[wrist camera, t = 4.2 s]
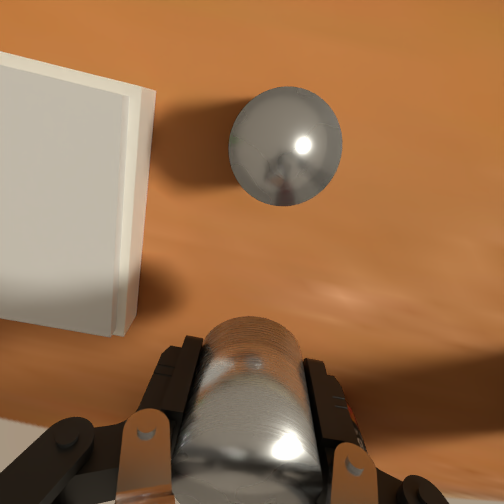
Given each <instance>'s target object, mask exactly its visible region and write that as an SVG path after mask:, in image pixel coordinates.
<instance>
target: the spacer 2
mask: <svg viewBox="0 0 504 504" xmlns="http://www.w3.org/2000/svg"><path fill="white" fill-rule="evenodd" d="M171 485H172V492H173V493H174V497H175V498H176V499H177V501H178V502H179V503H180V504H315V503H316V501H317V500H318V498H319V496H320V494H321V491H322V487H323V478H322V471H321V466H320V460H319V454H318V448H317V442H316V436H315V431H314V425H313V419H312V413H311V407H310V402H309V396H308V390H307V384H306V378H305V372H304V367H303V361H302V355H301V350H300V346H299V344H298V342H297V340H296V339H295V337H294V336H293V335H292V333H291V332H290V331H289V330H287V329H286V328H285V327H283V326H282V325H280V324H279V323H276V322H274V321H272V320H269V319H266V318H261V317H253V316H246V317H238V318H233V319H230V320H227V321H225V322H223V323H221V324H219V325H218V326H216V327H215V328H214V329H212V330H211V331H210V332H209V334H208V335H207V336H206V338H205V339H204V341H203V344H202V348H201V352H200V356H199V360H198V363H197V367H196V371H195V375H194V379H193V382H192V386H191V390H190V394H189V397H188V401H187V405H186V409H185V413H184V416H183V420H182V424H181V428H180V430H179V432H178V436H177V440H176V443H175V447H174V451H173V455H172V458H171Z"/></svg>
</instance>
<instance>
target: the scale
mask: <svg viewBox="0 0 504 504" xmlns="http://www.w3.org/2000/svg"><path fill="white" fill-rule="evenodd" d="M155 99H156V91H155V90H151V89H148V88H144V87H141V86H137V85H133V84H129V83H125V82H121V81H117V80H113V79H109V78H105V77H101V76H97V75H93V74H89V73H85V72H81V71H77V70H73V69H69V68H65V67H61V66H57V65H53V64H49V63H45V62H41V61H37V60H33V59H29V58H25V57H21V56H17V55H13V54H9V53H5V52H1V51H0V318H2V319H7V320H13V321H19V322H25V323H30V324H36V325H42V326H48V327H53V328H59V329H65V330H71V331H76V332H82V333H88V334H94V335H99V336H105V337H111V336H112V335H117V336H123V337H124V336H125V334H126V332H127V331H128V329H129V327H130V326H131V324H132V322H133V320H134V319H135V317H136V314H137V302H138V291H139V280H140V268H141V257H142V246H143V235H144V223H145V212H146V201H147V190H148V178H149V167H150V156H151V144H152V133H153V122H154V111H155Z"/></svg>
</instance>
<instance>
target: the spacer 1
mask: <svg viewBox="0 0 504 504" xmlns="http://www.w3.org/2000/svg"><path fill="white" fill-rule="evenodd" d="M341 153H342V134H341V129H340V125H339V123H338V120H337V118H336V116H335V114H334V112H333V111H332V109H331V108H330V107H329V105H328V104H327V103H326V102H325V101H324V100H323V99H321V98H320V97H319V96H317V95H316V94H314V93H312V92H310V91H308V90H305V89H302V88H297V87H278V88H274V89H270V90H268V91H265V92H263V93H261V94H259V95H258V96H256V97H255V98H253V99H252V100H251V101H250V102H249V103H248V104H247V105H246V106H245V107H244V108H243V109H242V111H241V112H240V113H239V115H238V117H237V118H236V120H235V122H234V125H233V127H232V130H231V134H230V138H229V160H230V164H231V168H232V171H233V173H234V175H235V177H236V179H237V181H238V182H239V184H240V185H241V186H242V188H243V189H244V190H245V191H246V192H247V193H249V194H250V195H251V196H252V197H254V198H256V199H257V200H259V201H261V202H264V203H266V204H270V205H275V206H291V205H296V204H300V203H302V202H305V201H307V200H309V199H311V198H313V197H314V196H316V195H317V194H318V193H319V192H321V191H322V190H323V189H324V188H325V187H326V186H327V185H328V183H329V182H330V181H331V179H332V178H333V176H334V174H335V172H336V170H337V168H338V165H339V162H340V158H341Z"/></svg>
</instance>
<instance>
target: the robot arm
mask: <svg viewBox="0 0 504 504" xmlns="http://www.w3.org/2000/svg"><path fill="white" fill-rule="evenodd" d="M202 344H203V338H198V337H193V336H187V335H186V337H185V340H184V343H183V346H182V348H181V347H176V346H170V347H169V348H168V349H166V350H165V351H164V352H163V353H162V354H161V357H160V359H159V361H158V364H157V366H156V368H155V371H154V374H153V375H152V378H151V380H150V382H149V385H148V387H147V389H146V392H145V394H144V396H143V399H142V401H141V403H140V406H139V408H138V409H137V411H136V412H135V413H134V414H133V415H132V416H130V417H129V419H127V420H125V421H124V422H121V423H119V424H116V425H111V426H104V427H96V428H94V427H93V425H92V423H91V422H90V421H88V420H87V419H85V418H81V417H70V418H66V419H63V420H61V421H59V422H57V423H55V424H54V425H52V426H51V427H50V428H49V429H48V430H46V431H45V432H44V433H43V434H42V435H41V436H40V437H39V438H38V439H37V440H36V441H35V442H33V443H32V444H31V445H30V446H29V447H28V448H27V449H26V450H25V451H24V452H23V453H22V454H20V455H19V456H18V457H17V458H16V459H15V460H14V461H13V462H12V463H11V464H10V465H9V466H7V467H6V468H5V469H4V470H3V471H2V472H1V473H0V504H98V503H103V502H107V501H112V500H115V504H175V498H174V493H173V492H172V485H171V458H172V455H173V451H174V447H175V443H176V440H177V436H178V432H179V430H180V428H181V424H182V420H183V416H184V413H185V409H186V405H187V401H188V397H189V394H190V390H191V386H192V382H193V379H194V375H195V371H196V367H197V363H198V360H199V356H200V352H201V348H202ZM303 367H304V372H305V378H306V384H307V390H308V396H309V402H310V407H311V413H312V419H313V425H314V431H315V436H316V442H317V448H318V454H319V460H320V466H321V471H322V478H323V487H322V491H321V494H320V496H319V498H318V500H317V501H316V503H315V504H449V503H448V502H447V500H446V499H445V497H444V496H443V495H442V493H441V492H440V491H439V490H438V489H437V488H436V487H435V486H434V485H433V484H432V483H431V482H429V481H428V480H426V479H425V478H423V477H420V476H417V475H410V476H407V477H406V478H405V479H404V481H403V482H402V481H400V480H398V479H396V478H394V477H392V476H390V475H388V474H386V473H384V472H383V471H381V470H379V469H378V468H376V467H375V464H374V462H373V460H372V459H371V457H370V456H369V455H368V454H367V453H366V451H364V450H363V449H362V448H361V447H360V446H359V442H358V439H357V436H356V433H355V429H354V426H353V423H352V420H351V416H350V413H349V410H348V407H347V403H346V400H345V397H344V393H343V390H342V387H341V386H340V384H339V383H338V381H337V380H336V379H335V377H334V376H330V375H327V373H326V369H325V365H324V363H323V361H318V360H313V359H308V358H305V359H304V361H303Z"/></svg>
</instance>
